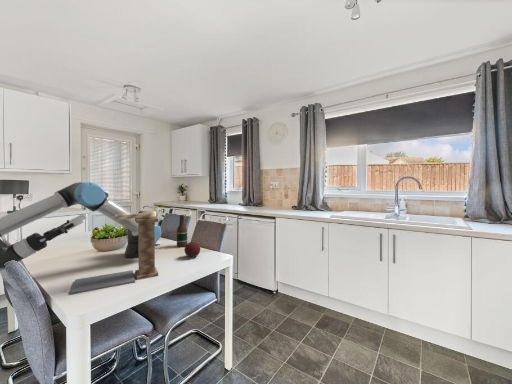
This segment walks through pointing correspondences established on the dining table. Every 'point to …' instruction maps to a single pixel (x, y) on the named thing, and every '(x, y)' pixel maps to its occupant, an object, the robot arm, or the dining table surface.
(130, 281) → the mat
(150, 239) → the stand
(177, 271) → the dining table surface
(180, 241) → the beer bottle
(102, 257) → the dining table surface
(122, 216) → the spoon
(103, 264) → the dining table surface
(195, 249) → the decorative ball
